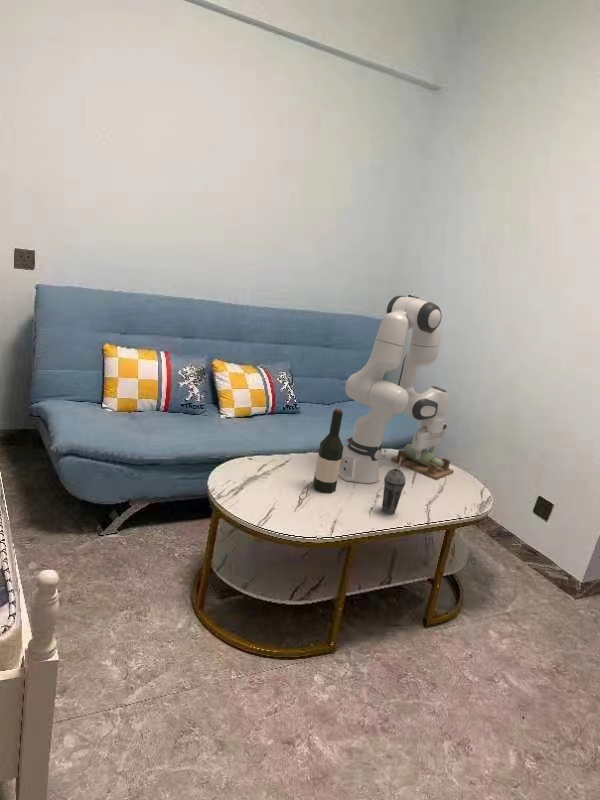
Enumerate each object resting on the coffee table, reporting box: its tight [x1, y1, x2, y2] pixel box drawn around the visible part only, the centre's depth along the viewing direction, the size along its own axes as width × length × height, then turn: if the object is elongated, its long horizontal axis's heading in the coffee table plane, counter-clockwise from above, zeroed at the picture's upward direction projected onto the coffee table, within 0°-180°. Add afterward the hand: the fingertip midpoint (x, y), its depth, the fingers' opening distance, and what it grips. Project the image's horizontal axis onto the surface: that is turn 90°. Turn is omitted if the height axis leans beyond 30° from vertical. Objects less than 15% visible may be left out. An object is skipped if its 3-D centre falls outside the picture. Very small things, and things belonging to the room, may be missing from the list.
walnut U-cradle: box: [390, 449, 454, 481], centre depth 259 cm, size 22×14×5 cm, turn 48°
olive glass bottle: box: [402, 443, 444, 468], centre depth 259 cm, size 6×6×17 cm
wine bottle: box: [312, 408, 344, 494], centre depth 219 cm, size 8×8×30 cm
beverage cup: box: [381, 457, 406, 516], centre depth 211 cm, size 7×7×20 cm
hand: (424, 456), depth 258 cm, fingers open, 8 cm apart
